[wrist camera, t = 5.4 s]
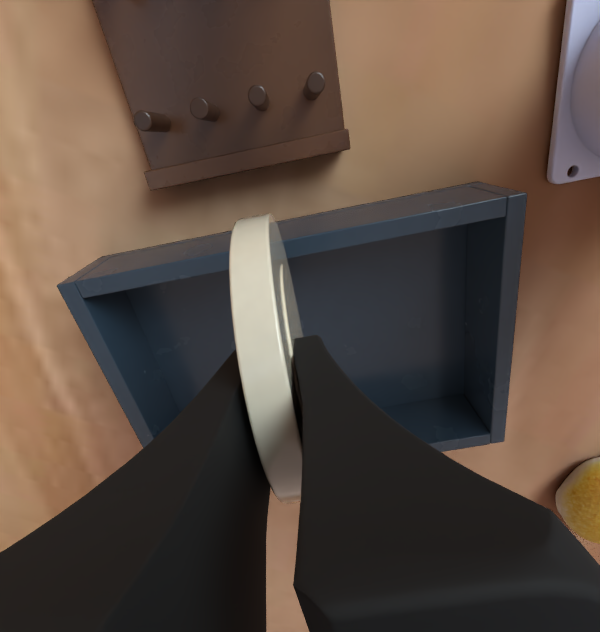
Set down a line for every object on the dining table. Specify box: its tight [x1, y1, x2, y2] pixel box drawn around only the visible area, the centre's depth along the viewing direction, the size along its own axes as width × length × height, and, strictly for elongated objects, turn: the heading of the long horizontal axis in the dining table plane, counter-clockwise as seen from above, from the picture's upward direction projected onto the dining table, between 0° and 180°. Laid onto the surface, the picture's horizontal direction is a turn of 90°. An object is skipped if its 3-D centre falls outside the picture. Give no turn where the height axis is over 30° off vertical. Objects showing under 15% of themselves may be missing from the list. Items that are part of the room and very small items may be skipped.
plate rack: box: [92, 0, 350, 191], centre depth 13 cm, size 9×10×3 cm
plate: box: [229, 213, 303, 504], centre depth 11 cm, size 1×8×8 cm, turn 11°
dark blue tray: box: [57, 181, 527, 452], centre depth 19 cm, size 20×14×4 cm
